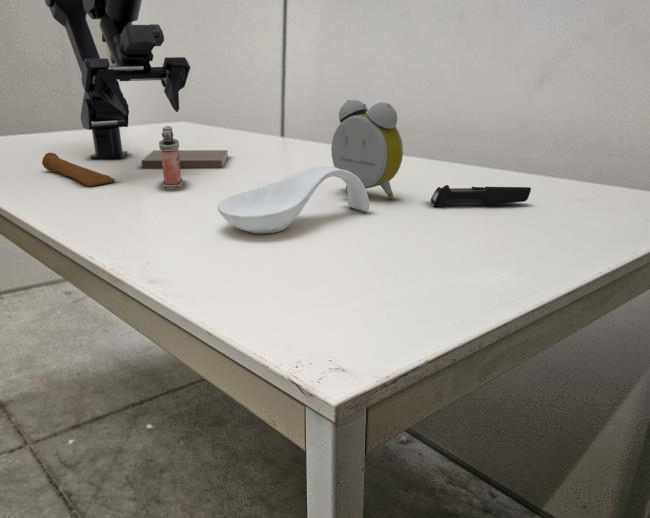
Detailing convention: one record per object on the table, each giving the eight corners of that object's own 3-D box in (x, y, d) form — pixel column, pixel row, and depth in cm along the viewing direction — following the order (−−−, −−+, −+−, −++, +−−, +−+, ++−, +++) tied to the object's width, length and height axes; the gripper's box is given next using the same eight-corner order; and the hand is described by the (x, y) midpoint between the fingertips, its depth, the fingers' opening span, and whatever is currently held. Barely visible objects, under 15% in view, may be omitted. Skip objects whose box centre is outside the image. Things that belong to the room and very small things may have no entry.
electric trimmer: (531, 209, 97) (535, 189, 96) (433, 208, 96) (435, 187, 95) (524, 203, 100) (527, 183, 99) (429, 202, 100) (431, 182, 99)
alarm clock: (402, 198, 102) (408, 102, 95) (376, 206, 97) (380, 105, 91) (349, 187, 109) (351, 97, 103) (322, 194, 105) (323, 100, 98)
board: (154, 157, 135) (153, 150, 134) (228, 157, 136) (227, 150, 135) (142, 168, 124) (141, 160, 123) (222, 167, 125) (221, 160, 124)
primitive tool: (116, 182, 112) (113, 162, 111) (89, 187, 108) (85, 167, 107) (59, 169, 123) (56, 151, 121) (33, 173, 119) (29, 155, 118)
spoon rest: (247, 246, 78) (244, 190, 75) (204, 225, 87) (200, 174, 84) (384, 217, 91) (387, 168, 88) (335, 201, 100) (336, 156, 97)
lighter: (182, 190, 107) (176, 130, 102) (162, 190, 106) (156, 130, 102) (183, 180, 114) (178, 124, 110) (164, 181, 113) (158, 124, 109)
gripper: (74, 5, 101) (106, 81, 98) (181, 8, 111) (213, 77, 107) (69, 56, 110) (98, 127, 107) (168, 55, 120) (197, 120, 117)
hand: (153, 112), depth 109 cm, fingers open, 9 cm apart
